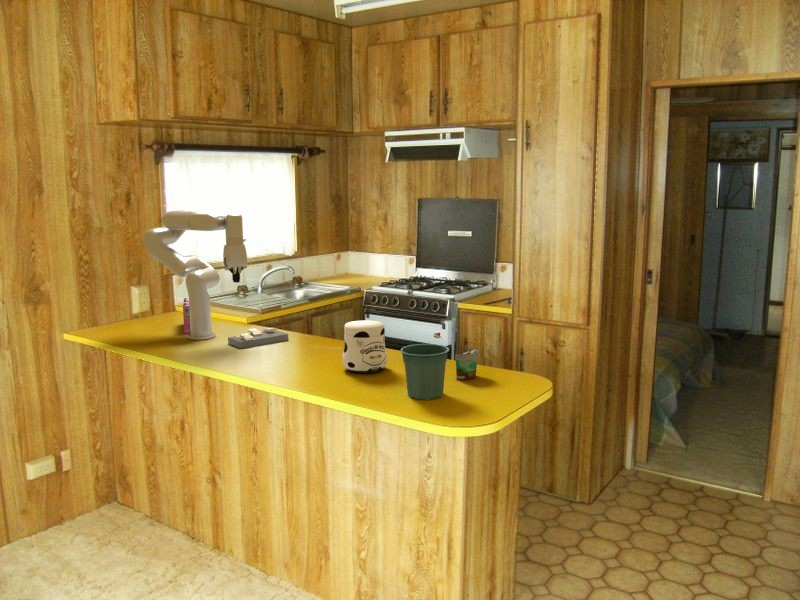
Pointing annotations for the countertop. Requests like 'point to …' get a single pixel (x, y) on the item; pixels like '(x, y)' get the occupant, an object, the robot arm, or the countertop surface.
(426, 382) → the flower pot
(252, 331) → the rocker mid
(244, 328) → the countertop surface
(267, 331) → the rocker far
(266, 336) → the switch panel
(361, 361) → the milk container
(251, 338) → the rocker near
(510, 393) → the countertop surface
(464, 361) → the food container
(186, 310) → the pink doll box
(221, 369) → the countertop surface
